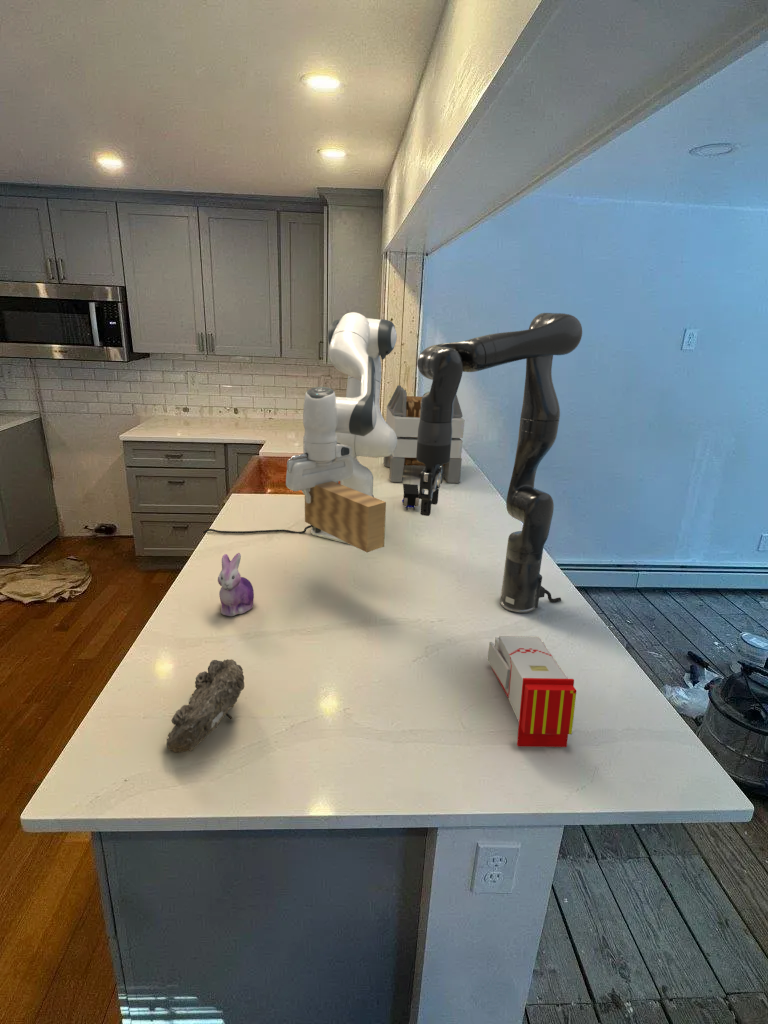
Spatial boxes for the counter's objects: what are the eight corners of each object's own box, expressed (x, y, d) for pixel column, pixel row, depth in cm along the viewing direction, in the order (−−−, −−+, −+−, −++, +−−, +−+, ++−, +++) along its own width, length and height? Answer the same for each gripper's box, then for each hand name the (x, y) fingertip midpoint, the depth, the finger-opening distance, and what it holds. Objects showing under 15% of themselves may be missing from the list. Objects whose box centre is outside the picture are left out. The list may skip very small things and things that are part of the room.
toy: (536, 619, 129) (586, 686, 99) (531, 673, 131) (578, 754, 102) (483, 618, 128) (517, 685, 99) (479, 672, 131) (511, 753, 102)
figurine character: (419, 515, 222) (416, 499, 236) (420, 498, 219) (418, 482, 232) (402, 515, 222) (400, 498, 235) (403, 497, 218) (401, 482, 232)
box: (304, 521, 157) (304, 480, 153) (321, 517, 161) (321, 476, 157) (366, 552, 140) (368, 507, 136) (384, 546, 144) (386, 502, 140)
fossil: (192, 660, 117) (244, 628, 112) (224, 691, 120) (276, 661, 115) (142, 746, 98) (202, 712, 93) (182, 779, 101) (242, 748, 96)
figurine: (223, 621, 140) (219, 566, 135) (214, 602, 149) (210, 550, 144) (260, 613, 144) (258, 559, 139) (250, 595, 153) (247, 544, 148)
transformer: (382, 463, 289) (386, 382, 275) (445, 464, 293) (451, 384, 279) (390, 482, 257) (394, 392, 243) (460, 483, 261) (468, 394, 247)
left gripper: (294, 459, 141) (295, 511, 146) (356, 447, 154) (355, 495, 159) (280, 453, 145) (281, 504, 150) (342, 442, 158) (341, 489, 163)
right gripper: (445, 449, 118) (439, 521, 123) (456, 435, 131) (450, 502, 136) (410, 445, 120) (406, 517, 125) (424, 432, 133) (420, 498, 138)
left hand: (320, 499), depth 155 cm, fingers closed on box, 6 cm apart
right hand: (429, 509), depth 131 cm, fingers open, 8 cm apart
